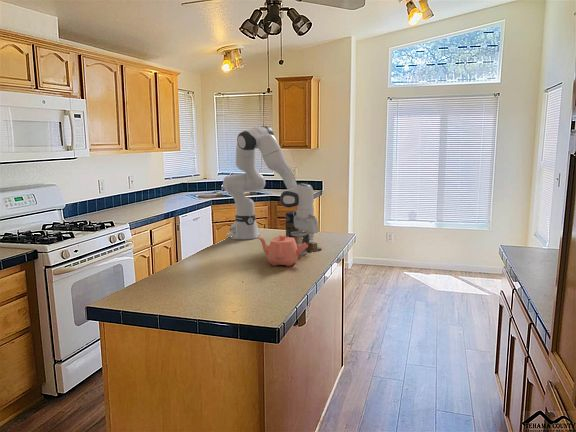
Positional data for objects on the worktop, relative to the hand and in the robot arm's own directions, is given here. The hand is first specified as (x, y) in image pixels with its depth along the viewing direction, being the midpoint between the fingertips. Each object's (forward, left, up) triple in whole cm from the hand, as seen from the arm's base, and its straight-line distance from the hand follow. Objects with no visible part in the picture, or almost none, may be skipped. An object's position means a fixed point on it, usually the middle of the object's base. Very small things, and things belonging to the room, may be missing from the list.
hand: (306, 238), depth 247 cm
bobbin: (+7, -10, -5) cm, 13 cm away
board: (0, 0, -5) cm, 5 cm away
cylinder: (0, 0, -4) cm, 4 cm away
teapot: (+18, -28, -6) cm, 34 cm away
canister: (-19, +5, -6) cm, 20 cm away
